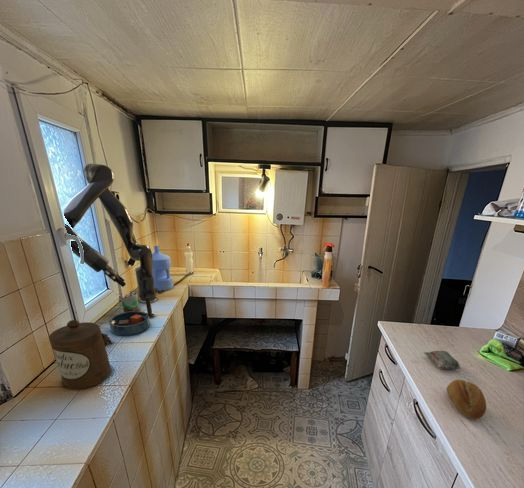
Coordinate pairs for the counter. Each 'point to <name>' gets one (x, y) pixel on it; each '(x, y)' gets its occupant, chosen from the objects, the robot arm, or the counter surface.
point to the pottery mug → (106, 339)
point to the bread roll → (467, 398)
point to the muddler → (149, 307)
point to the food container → (130, 302)
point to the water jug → (161, 270)
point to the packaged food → (443, 359)
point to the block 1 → (123, 323)
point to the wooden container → (80, 354)
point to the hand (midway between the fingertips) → (123, 283)
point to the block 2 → (136, 319)
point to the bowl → (131, 328)
